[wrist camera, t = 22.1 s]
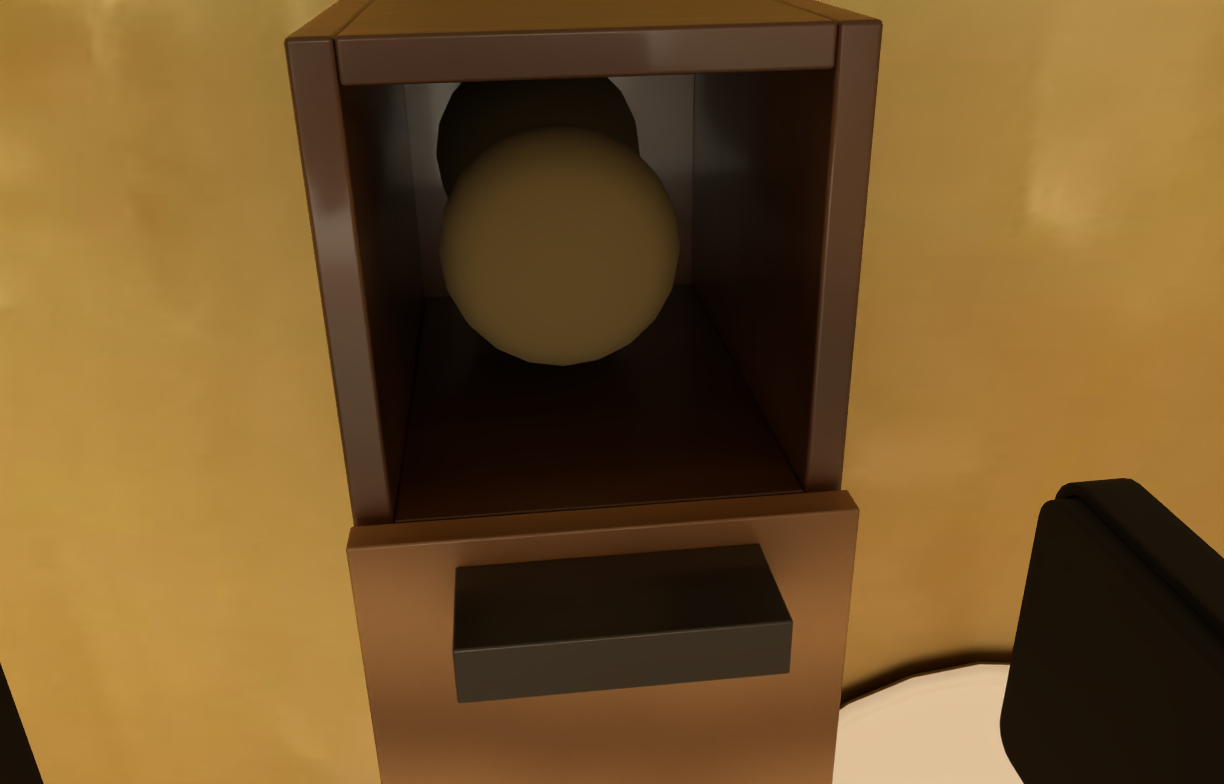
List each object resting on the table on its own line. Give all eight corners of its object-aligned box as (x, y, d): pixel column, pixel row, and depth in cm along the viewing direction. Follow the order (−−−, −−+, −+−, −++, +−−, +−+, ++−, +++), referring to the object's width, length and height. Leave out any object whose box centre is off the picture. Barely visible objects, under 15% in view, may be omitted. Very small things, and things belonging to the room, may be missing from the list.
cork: (562, 287, 33) (597, 454, 23) (396, 178, 31) (356, 310, 21) (679, 129, 31) (773, 235, 21) (512, 2, 29) (527, 54, 19)
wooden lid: (350, 525, 20) (327, 632, 17) (847, 488, 21) (907, 584, 18) (402, 884, 25) (392, 1018, 22) (815, 839, 26) (858, 963, 23)
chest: (366, -21, 29) (281, 37, 17) (718, -30, 30) (885, 19, 18) (403, 313, 33) (357, 557, 21) (710, 296, 34) (839, 520, 22)
